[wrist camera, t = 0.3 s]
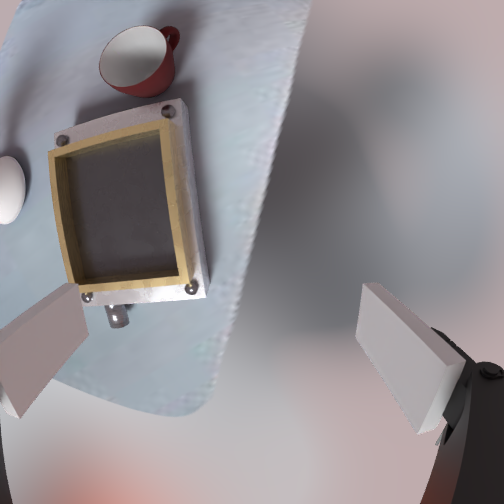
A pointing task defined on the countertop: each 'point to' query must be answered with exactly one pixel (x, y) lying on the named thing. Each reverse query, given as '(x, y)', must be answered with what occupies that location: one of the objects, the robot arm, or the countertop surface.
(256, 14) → the countertop surface
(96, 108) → the countertop surface
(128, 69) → the mug
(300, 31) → the countertop surface
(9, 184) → the flower in vase
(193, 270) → the gold rimmed tray box
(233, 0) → the countertop surface
